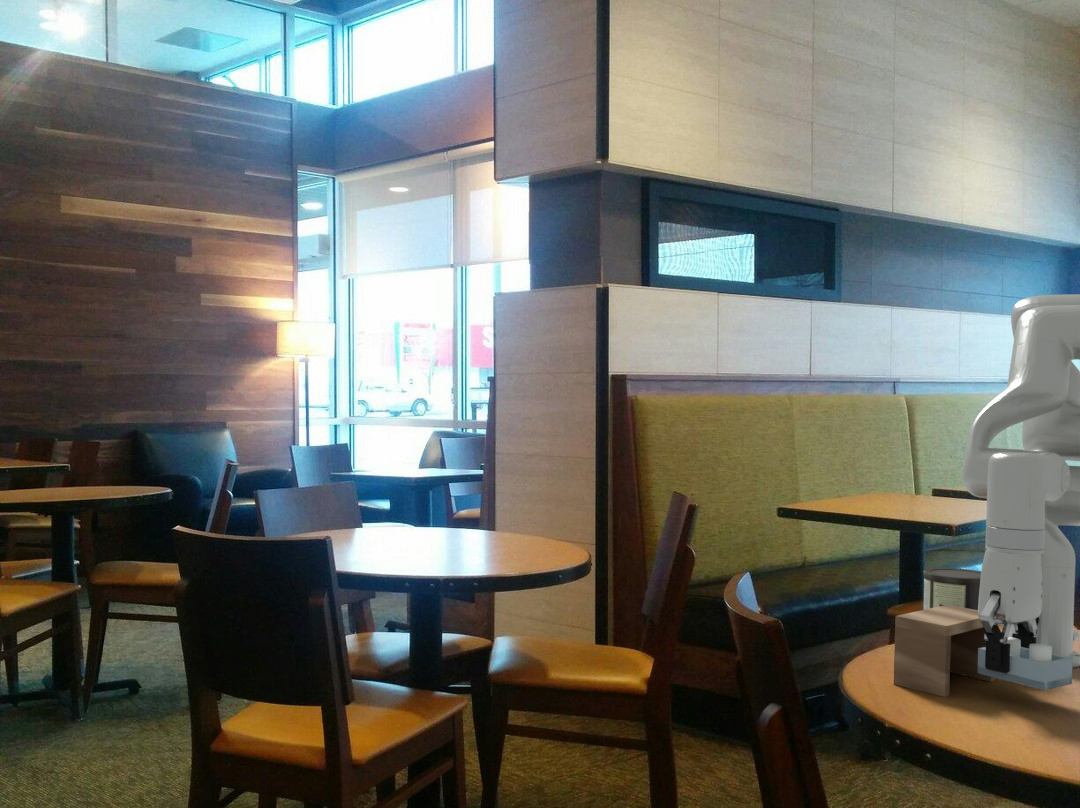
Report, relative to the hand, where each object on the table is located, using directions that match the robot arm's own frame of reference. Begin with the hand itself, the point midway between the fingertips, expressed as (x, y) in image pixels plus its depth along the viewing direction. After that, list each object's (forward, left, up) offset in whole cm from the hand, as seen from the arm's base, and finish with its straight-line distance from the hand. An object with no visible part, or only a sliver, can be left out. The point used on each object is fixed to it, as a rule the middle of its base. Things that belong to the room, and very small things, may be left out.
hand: (1010, 666), depth 150 cm
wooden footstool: (0, -10, -5) cm, 11 cm away
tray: (0, +2, -1) cm, 2 cm away
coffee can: (-14, -16, -5) cm, 22 cm away
